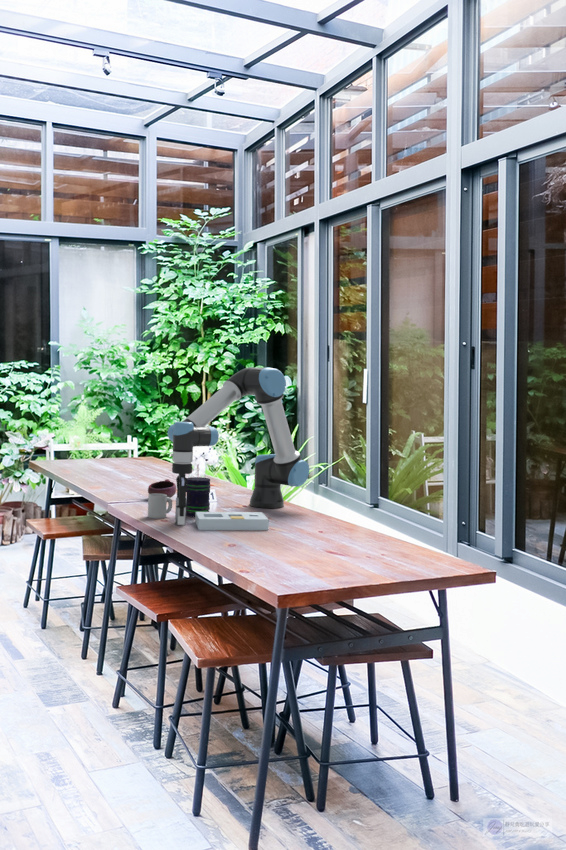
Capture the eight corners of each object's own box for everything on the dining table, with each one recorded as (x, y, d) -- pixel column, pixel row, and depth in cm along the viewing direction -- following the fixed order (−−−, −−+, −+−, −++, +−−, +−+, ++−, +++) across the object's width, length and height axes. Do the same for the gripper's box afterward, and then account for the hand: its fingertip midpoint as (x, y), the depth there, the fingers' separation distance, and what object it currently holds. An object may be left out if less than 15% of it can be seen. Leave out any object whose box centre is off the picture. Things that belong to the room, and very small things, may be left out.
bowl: (179, 501, 364) (179, 483, 363) (150, 502, 359) (151, 484, 358) (170, 496, 379) (170, 479, 378) (142, 496, 374) (143, 479, 373)
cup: (144, 516, 323) (145, 493, 322) (168, 514, 328) (168, 492, 327) (151, 519, 317) (152, 496, 316) (175, 517, 322) (176, 495, 321)
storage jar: (211, 514, 333) (212, 477, 333) (206, 518, 324) (208, 480, 323) (187, 512, 334) (188, 476, 334) (182, 516, 325) (183, 479, 324)
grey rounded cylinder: (174, 523, 310) (175, 497, 309) (185, 523, 310) (186, 497, 310) (175, 525, 306) (176, 498, 305) (186, 525, 306) (186, 499, 306)
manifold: (195, 522, 314) (195, 510, 314) (261, 522, 319) (261, 511, 319) (198, 529, 298) (199, 518, 298) (268, 530, 303) (268, 518, 303)
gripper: (171, 459, 316) (169, 517, 317) (173, 465, 296) (171, 527, 297) (190, 460, 317) (188, 517, 319) (194, 465, 297) (192, 527, 299)
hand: (180, 522), depth 308 cm, fingers open, 8 cm apart
